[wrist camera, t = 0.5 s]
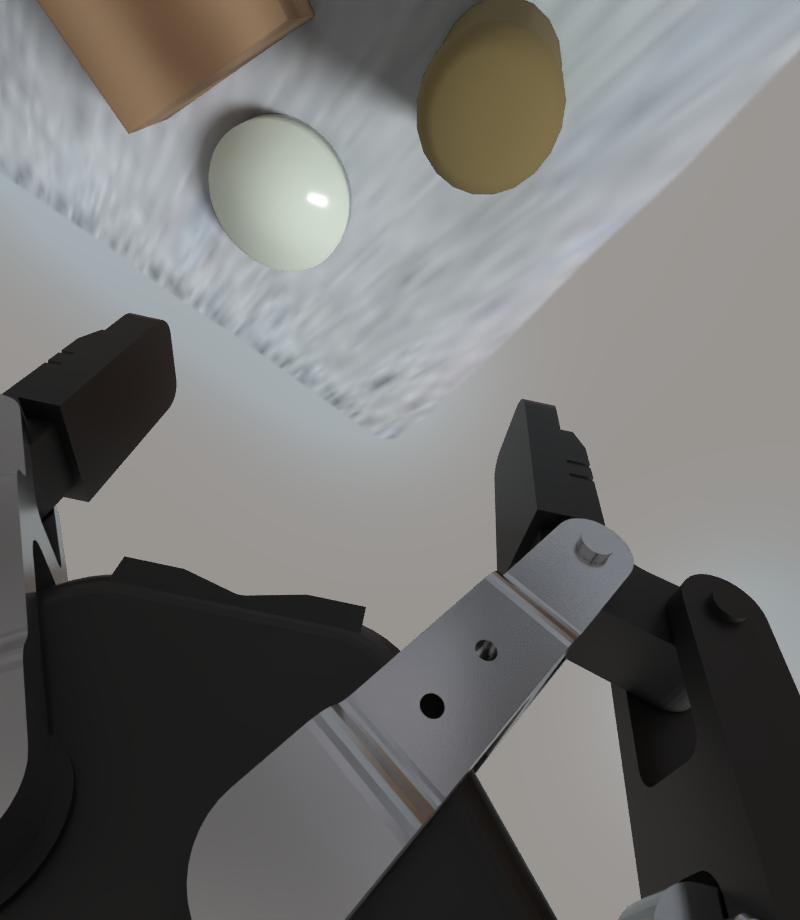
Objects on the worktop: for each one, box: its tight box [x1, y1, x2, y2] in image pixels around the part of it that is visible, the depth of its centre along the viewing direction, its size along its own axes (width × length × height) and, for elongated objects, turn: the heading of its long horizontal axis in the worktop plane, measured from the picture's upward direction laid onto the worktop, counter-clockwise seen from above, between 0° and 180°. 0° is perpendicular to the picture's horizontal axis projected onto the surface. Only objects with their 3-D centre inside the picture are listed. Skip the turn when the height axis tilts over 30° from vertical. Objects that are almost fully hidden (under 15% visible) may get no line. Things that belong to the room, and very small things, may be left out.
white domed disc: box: [208, 114, 352, 271], centre depth 30 cm, size 8×8×2 cm
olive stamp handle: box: [417, 0, 566, 194], centre depth 21 cm, size 6×6×11 cm
